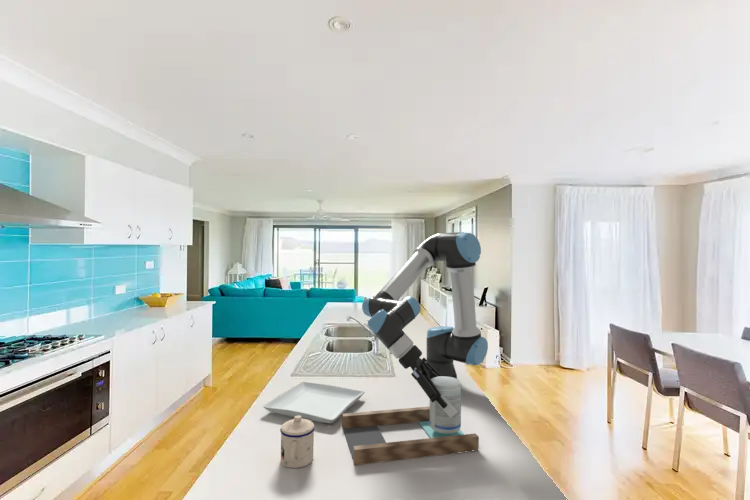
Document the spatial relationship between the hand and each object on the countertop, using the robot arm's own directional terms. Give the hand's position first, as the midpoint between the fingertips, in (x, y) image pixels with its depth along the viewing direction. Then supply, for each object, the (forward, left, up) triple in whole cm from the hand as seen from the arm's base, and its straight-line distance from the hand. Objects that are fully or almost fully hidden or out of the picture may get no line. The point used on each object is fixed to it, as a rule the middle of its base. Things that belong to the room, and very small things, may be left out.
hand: (455, 407), depth 119 cm
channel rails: (+15, -2, -8) cm, 17 cm away
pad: (+3, -2, -8) cm, 9 cm away
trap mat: (+28, -1, -8) cm, 29 cm away
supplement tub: (+3, -2, -7) cm, 7 cm away
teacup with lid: (+48, +5, -9) cm, 49 cm away
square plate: (+40, -30, -9) cm, 51 cm away
